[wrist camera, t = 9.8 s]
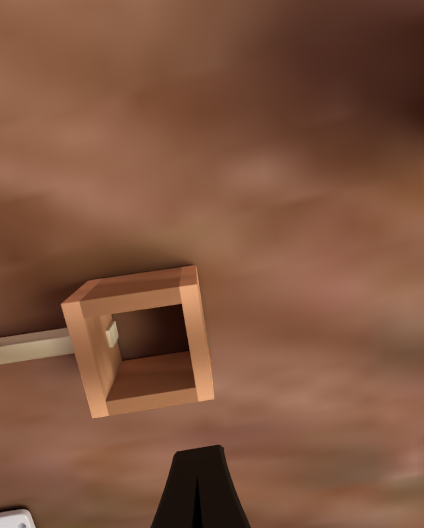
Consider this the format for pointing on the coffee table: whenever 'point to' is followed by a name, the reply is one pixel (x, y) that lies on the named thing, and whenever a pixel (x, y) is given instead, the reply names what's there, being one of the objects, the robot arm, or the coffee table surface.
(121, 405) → the pull frame
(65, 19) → the coffee table surface
